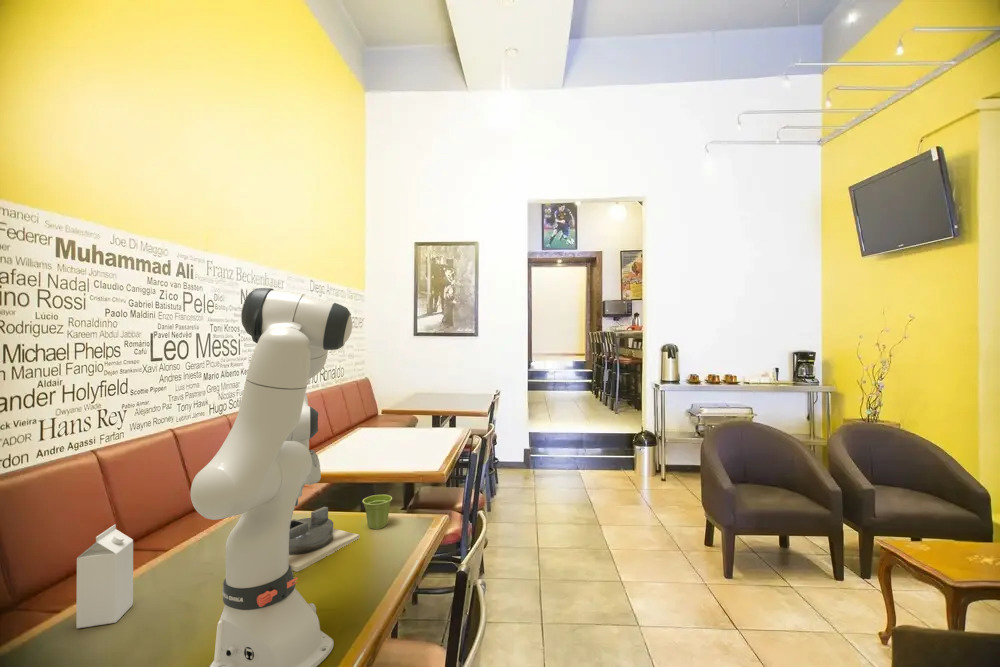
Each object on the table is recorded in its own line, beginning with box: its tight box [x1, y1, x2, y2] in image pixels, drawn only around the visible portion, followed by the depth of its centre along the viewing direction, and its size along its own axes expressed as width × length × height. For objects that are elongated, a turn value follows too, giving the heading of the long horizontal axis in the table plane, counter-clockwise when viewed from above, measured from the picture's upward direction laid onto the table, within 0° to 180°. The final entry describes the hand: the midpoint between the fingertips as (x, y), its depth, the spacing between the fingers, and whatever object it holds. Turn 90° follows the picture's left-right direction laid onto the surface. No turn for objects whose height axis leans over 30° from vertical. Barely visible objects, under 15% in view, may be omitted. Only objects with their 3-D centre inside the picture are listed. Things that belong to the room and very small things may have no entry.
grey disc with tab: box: [289, 506, 334, 554], centre depth 132 cm, size 16×16×8 cm
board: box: [289, 527, 361, 573], centre depth 131 cm, size 22×22×1 cm
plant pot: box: [362, 494, 393, 530], centre depth 146 cm, size 9×9×9 cm
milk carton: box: [75, 523, 134, 629], centre depth 99 cm, size 7×7×19 cm
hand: (292, 495), depth 128 cm, fingers closed on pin, 3 cm apart
